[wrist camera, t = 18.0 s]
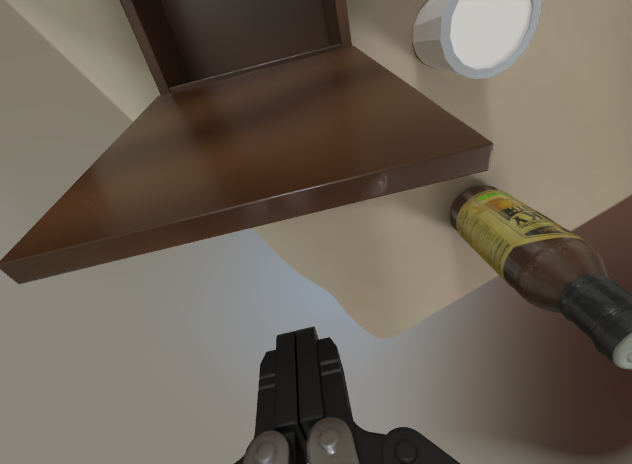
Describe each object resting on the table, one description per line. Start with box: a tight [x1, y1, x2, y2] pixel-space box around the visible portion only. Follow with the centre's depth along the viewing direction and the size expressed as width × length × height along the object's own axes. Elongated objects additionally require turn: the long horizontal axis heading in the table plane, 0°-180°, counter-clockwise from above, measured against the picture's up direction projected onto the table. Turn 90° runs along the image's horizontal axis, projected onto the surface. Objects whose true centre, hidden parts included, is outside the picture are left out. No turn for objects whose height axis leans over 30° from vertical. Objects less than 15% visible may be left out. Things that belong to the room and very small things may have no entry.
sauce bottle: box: [451, 186, 632, 369], centre depth 27 cm, size 6×6×20 cm
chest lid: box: [0, 46, 493, 284], centre depth 15 cm, size 16×13×1 cm
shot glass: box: [412, 0, 542, 79], centre depth 24 cm, size 7×7×7 cm
